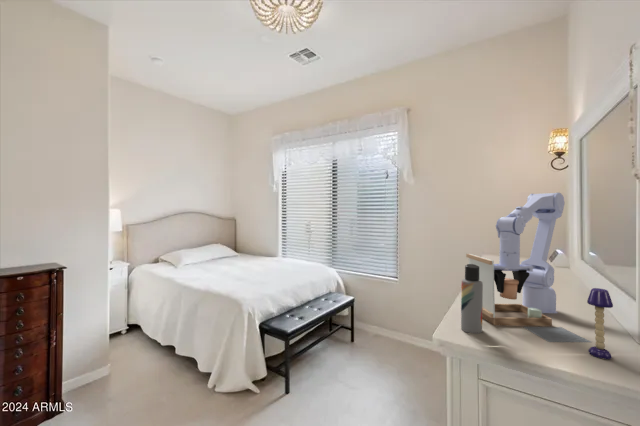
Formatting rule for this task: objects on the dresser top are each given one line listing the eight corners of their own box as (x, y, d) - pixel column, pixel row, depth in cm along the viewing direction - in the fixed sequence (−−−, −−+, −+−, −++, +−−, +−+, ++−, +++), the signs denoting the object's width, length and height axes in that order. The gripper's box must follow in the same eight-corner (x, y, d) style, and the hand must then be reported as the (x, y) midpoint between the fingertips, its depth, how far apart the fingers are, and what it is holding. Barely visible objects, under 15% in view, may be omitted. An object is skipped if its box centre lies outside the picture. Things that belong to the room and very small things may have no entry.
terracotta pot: (510, 295, 98) (511, 278, 98) (521, 300, 92) (522, 282, 92) (495, 294, 98) (496, 277, 98) (505, 299, 92) (506, 281, 92)
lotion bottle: (479, 328, 87) (480, 263, 87) (484, 335, 82) (485, 267, 82) (459, 325, 89) (460, 262, 89) (462, 332, 84) (463, 265, 83)
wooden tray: (520, 311, 102) (520, 303, 102) (551, 326, 88) (552, 318, 88) (470, 310, 102) (470, 303, 102) (494, 326, 88) (494, 318, 88)
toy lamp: (581, 350, 74) (582, 286, 73) (597, 349, 74) (598, 286, 74) (601, 360, 69) (602, 292, 69) (618, 359, 69) (619, 291, 69)
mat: (560, 328, 87) (560, 327, 87) (592, 343, 77) (592, 342, 77) (522, 328, 87) (522, 326, 87) (548, 343, 77) (548, 341, 77)
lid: (469, 253, 102) (466, 253, 102) (493, 260, 88) (489, 260, 88) (470, 302, 102) (467, 303, 102) (494, 317, 88) (490, 317, 88)
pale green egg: (535, 319, 93) (535, 307, 93) (544, 324, 90) (544, 311, 90) (524, 319, 93) (525, 307, 93) (533, 324, 90) (533, 311, 89)
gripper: (522, 250, 99) (521, 288, 99) (481, 250, 99) (480, 288, 99) (537, 253, 92) (537, 295, 92) (493, 253, 92) (493, 294, 92)
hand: (508, 292), depth 95 cm, fingers closed on terracotta pot, 5 cm apart
